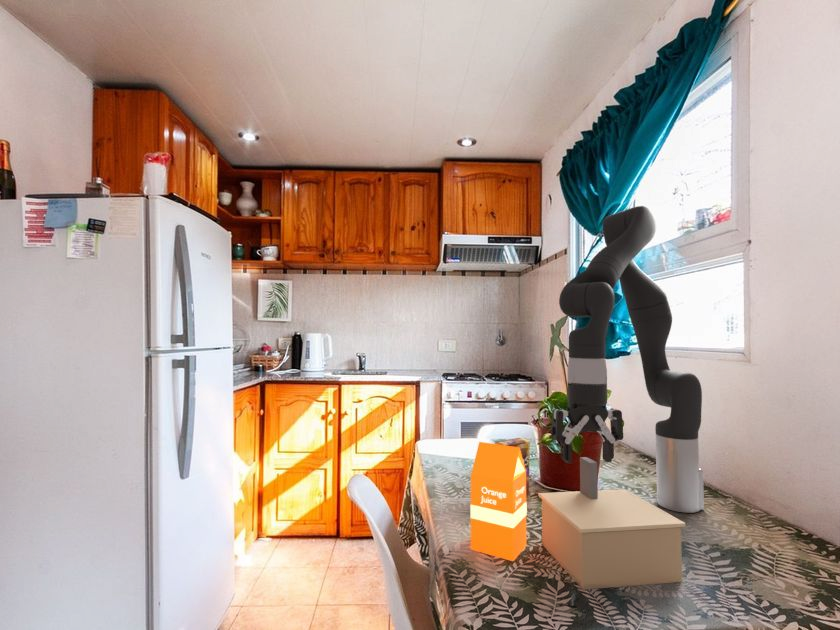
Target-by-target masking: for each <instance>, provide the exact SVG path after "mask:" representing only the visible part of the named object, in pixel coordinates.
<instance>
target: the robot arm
mask: <svg viewBox="0 0 840 630" xmlns="http://www.w3.org/2000/svg"><path fill="white" fill-rule="evenodd" d="M656 231H657V224H656V218H655V216H654V214H653V212H652V211H651V209H649V208H648V207H647V206H644V205H639V206H633V207H630V208H628V209H624V210H621V211H618V212H616V213H613V214H611V215H607V216H605V218H604V219H603V221H602V235H603V239H604V241H605V245H606V246H605V247H603V248H602V249H601V250H599V251H598V252H597V253H596V254H595V255H594V256H593V257H592V259H591V260H590V262H589V264H588V265H587V267H586V268H585V270H584V271H582V272H580V273H578V274H577V275H576V276H574V277H573V278H572V279H571V280H569V281H568V282H567V283H566V284H565V286H564V287H563V288H562V290H561V291H560V294H559V298H558V300H559V302H558V304H559V308H560V310H561V312H562V313H563V314H564V315H565V316H567V317H571V318H590V319H589V322H588V323H587V325H586V326H583V327H580V328H577V329H572V330H571V331H570V332H569V335H568V363H567V369H566V370H567V380H566V381H567V391H566V392H567V395H566V397H567V398H566V399H567V409H566V410H563V409H562V410H561V409H558V408H553V409H552V413H551V414H552V416H551V427H550V428H551V431H550V437H551V438H552V439H554V440H556V441H558V442H560V457H561V459H562V460H563V462H564V463H566V464H572V460H573V459H572V455H573V453H572V447H573V446H572V445H573V444H571V443H572V441H573V439H574V438H575V437H576V436H579V435H578V434H579V433H581V432H582V433H587V432H592V433H597V434H599V435H600V436H601V439H603V441H602V460H603V461H604V462H607V463H612V461H613V459H614V457H615V456H614V455H615V448H614V447H615V443H616V442H618V441H622V440H623V439H624V425H623V412H622V411H621V410H620V409H616V408H610V409H607V404H608V369H607V363H606V339H607V333H608V328H609V325H610V320H611V317H612V314H613V310H614V307H615V302H616V301H615V299H616V297H615V292H614V288H615V287H616V285H617V284H618V282H620V286H621V289H622V292H623V293H622V294H623V296H624V300H625V304H626V309H627V312H628V316H629V320H630V323H631V324H632V328H633V331H634V335H635V339H636V342H637V343H636V344H637V346H638V350H639V354H640V359H641V363H642V364H641V365H642V370H643V375H644V382H645V386H646V387H645V388H646V392H647V394H648V396H649V398H650V400H651V401H652V402H653V403H654V404H656V405H659V406H661V407H666V408H670V416H669V417H668V418H667V419H664V420H663V419H662V420H659V421H657V422H656V423H655V425H654V427H655V429H654V431H655V457H656V458H655V459H656V460H655V463H656V464H655V465H656V467H655V468H656V503H657V504H658V506H660V507H662V508H664V509H667V510H669V511H673V512H679V513H685V514H687V513H689V514H694V513H698V512H700V511H702V510H705V496H704V492H705V491H704V470H703V469H702V468H700V454H699V453H700V452H699V450H700V449H699V431H700V429H701V424H702V409H703V408H702V407H703V405H702V403H703V391H702V390H703V389H702V386H701V383H700V380H699V378H698V377H697V376H696V374H693V373H691V372H687V371H678V370H671V368H670V366H669V363H668V360H667V355H666V354H667V353H666V344H667V341H668V338H669V336H670V332H671V329H672V326H673V315H672V312H671V307H670V303H669V301H668V297H667V294H666V292H665V291H664V289H663V288H662V287H661V286H660V285H659V284H658V283H657V282H655V280H653V279H652V278H651V277H650V276H649V275H647V274H646V273H645V272H644V271H643V270H642V269H641V268H640V267H639V266H638V264H637V263H636V262H635V260H634V259H635V258H636V256H637V255H638V254H639V253H640V252H641V251H642V250H643V249H644V248H645V247H646V246H647V245H648V244H649V243H650V242H651V241H652V240H653V239H654V237H655V234H656ZM566 418H567V419H568V423H567V424H566V426H565V427H564V424H563V423H564V421H566ZM607 419H609V420H610V421H609V423H610V429H609V427H608V426H607V424H606V423H605V422H606V420H607ZM563 428H564V430H563Z"/></svg>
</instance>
